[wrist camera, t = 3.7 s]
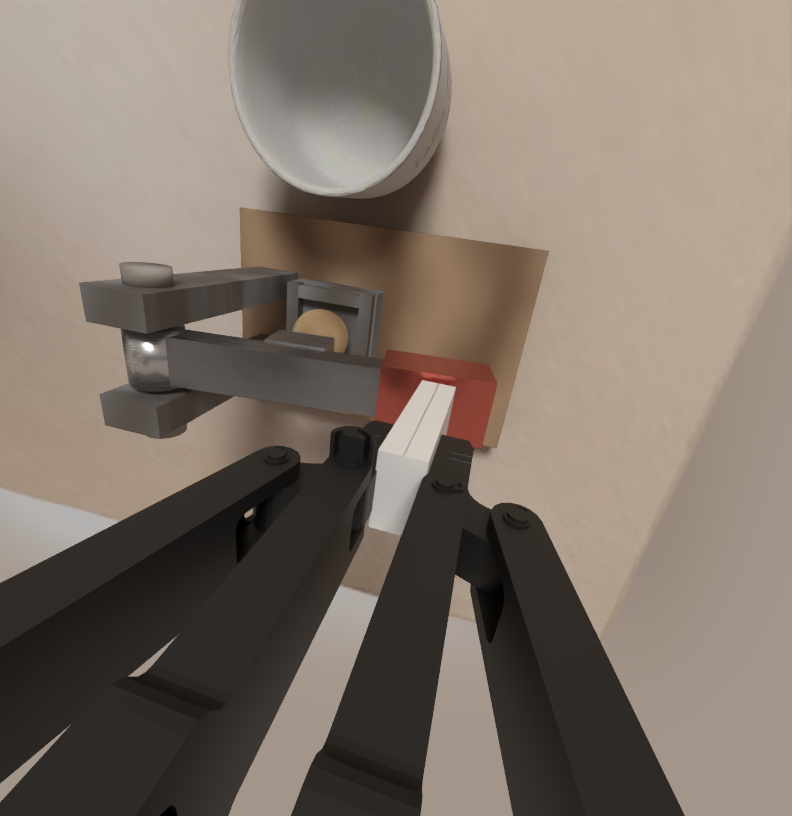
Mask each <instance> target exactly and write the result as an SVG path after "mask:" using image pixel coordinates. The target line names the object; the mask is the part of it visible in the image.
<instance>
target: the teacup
mask: <svg viewBox="0 0 792 816" xmlns="http://www.w3.org/2000/svg"><path fill="white" fill-rule="evenodd" d="M229 73H230V80H231V90H232V95H233V99H234V103H235V107H236V110H237V113H238V116H239V119H240V122H241V124H242V127H243V129H244V132H245V134H246V135H247V137H248V139H249V141H250V143H251V144H252V146H253V148H254V149H255V151H256V152H257V154H258V155H259V156H260V158H261V159H262V160H263V161H264V162H265V163H266V164H267V166H268V167H269V168H270V169H271V170H272V171H273V172H274V173H275V174H276V175H277V176H279V177H280V178H281V179H283V180H284V181H285V182H287V183H288V184H290V185H291V186H293V187H295V188H297V189H299V190H301V191H304V192H307V193H310V194H314V195H318V196H322V197H345V198H355V199H367V198H376V197H380V196H384V195H387V194H390V193H392V192H394V191H396V190H398V189H400V188H402V187H403V186H405V185H406V184H408V183H409V182H410V181H411V180H413V179H414V178H415V177H416V176H417V175H418V174H419V173H420V172H421V171H422V170H423V168H424V167H425V166H426V165H427V163H428V162H429V160H430V159H431V158H432V156H433V154H434V153H435V151H436V149H437V147H438V145H439V143H440V141H441V138H442V135H443V133H444V130H445V127H446V123H447V119H448V115H449V109H450V102H451V85H452V79H451V66H450V59H449V53H448V48H447V44H446V40H445V36H444V33H443V29H442V26H441V23H440V18H439V13H438V7H437V4H436V1H435V0H236V3H235V7H234V11H233V15H232V20H231V26H230V35H229Z"/></svg>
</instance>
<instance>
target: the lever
mask: <svg viewBox="0 0 792 816" xmlns="http://www.w3.org/2000/svg"><path fill="white" fill-rule="evenodd" d="M121 334H122V341H123V348H124V354H125V361H126V368H127V374H128V381H129V385H130V386H131V387H132V388H134V389H137V390H142V391H168V390H174V389H178V388H185V389H192V390H198V391H205V392H212V393H218V394H225V395H231V396H238V397H245V398H251V399H258V400H265V401H271V402H278V403H284V404H291V405H298V406H304V407H311V408H317V409H324V410H331V411H337V412H344V413H351V414H357V415H364V416H370V417H375V420H377V421H382V422H386V423H390V424H395V423H396V421H397V419H398V418H399V416H400V415H401V413H402V412H403V410H404V408H405V407H406V405H407V404H408V402H409V401H410V399H411V397H412V396H413V394H414V393H415V391H416V389H417V388H418V386H419V385H420V383H421V382H422V380H424V381H429V382H434V383H439V384H444V385H448V386H453V387H456V390H455V395H454V400H453V405H452V410H451V414H450V419H449V424H448V429H447V434H446V435H447V436H451V437H455V438H460V439H464V440H468V441H470V443H471V445H472V447H473V448H479V449H482V445H483V441H484V437H485V433H486V429H487V425H488V421H489V417H490V413H491V409H492V404H493V400H494V396H495V392H496V388H497V384H498V383H497V381H496V379H495V377H494V374H493V372H492V370H491V368H490V366H489V364H484V363H478V362H471V361H464V360H457V359H450V358H444V357H437V356H430V355H423V354H417V353H410V352H403V351H396V350H389V349H387V352H386V355H385V357H384V359H380V358H373V357H367V356H360V355H353V354H346V353H340V352H334V343H335V338H333V337H326V336H320V335H313V334H306V333H299V332H292V331H286V330H279V331H277V332H275V333H274V334H272V335H270V336H269V337H267V338H266V339H264V341H259V340H252V339H245V338H238V337H232V336H225V335H218V334H211V333H205V332H198V331H191V330H185V326H184V325H179V326H175V327H172V328H168V329H164V330H160V331H156V332H152V333H148V334H146V333H141V332H136V331H131V330H126V329H121Z"/></svg>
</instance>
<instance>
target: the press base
mask: <svg viewBox="0 0 792 816" xmlns="http://www.w3.org/2000/svg"><path fill="white" fill-rule="evenodd" d="M240 235H241V268H237V269H226V270H215V271H204V272H193V273H182V274H173V270H172V267H171V266H168V265H163V264H155V263H143V262H124V263H120V264H119V265H120V272H121V279H115V280H104V281H93V282H82V283H79V285H80V290H81V296H82V301H83V307H84V312H85V317H86V321H87V322H92V323H97V324H102V325H107V326H112V327H116V328H121V329H126V330H131V331H136V332H141V333H146V334H148V333H152V332H156V331H160V330H164V329H168V328H172V327H175V326H179V325H183V324H187V323H191V322H195V321H199V320H203V319H207V318H211V317H215V316H219V315H223V314H227V313H231V312H235V311H238V310H242V313H243V338H245V339H252V340H259V341H264V339H266V338H267V337H269V336H270V335H272V334H274V333H275V332H277V331H279V330H286V331H292V330H293V327H294V325H295V323H296V321H297V320H298V318H299V317H300V316H301V315H303V314H304V313H306V312H308V311H310V310H315V309H324V310H328V311H331V312H333V313H334V314H336V315H337V316H338V317H340V318H341V320H342V321H343V322H344V324H345V326H346V328H347V332H348V345H347V348H346V350H345V352H344V353H346V354H353V355H360V356H367V357H373V358H380V359H384V357H385V355H386V352H387V349H389V350H396V351H403V352H410V353H417V354H423V355H430V356H437V357H444V358H450V359H457V360H464V361H471V362H478V363H484V364H489V366H490V368H491V370H492V372H493V374H494V377H495V379H496V381H497V383H498V384H497V388H496V392H495V396H494V400H493V404H492V409H491V413H490V417H489V421H488V425H487V429H486V433H485V437H484V441H483V446H488V447H492V448H497V445H498V442H499V438H500V434H501V430H502V426H503V423H504V419H505V415H506V411H507V408H508V404H509V400H510V396H511V392H512V389H513V385H514V381H515V377H516V374H517V370H518V366H519V362H520V358H521V355H522V351H523V347H524V343H525V340H526V336H527V332H528V328H529V324H530V321H531V317H532V313H533V309H534V306H535V302H536V298H537V294H538V290H539V287H540V283H541V279H542V275H543V272H544V268H545V264H546V260H547V256H548V253H549V251H545V250H538V249H531V248H524V247H517V246H509V245H502V244H495V243H488V242H481V241H474V240H467V239H460V238H453V237H446V236H439V235H431V234H424V233H417V232H410V231H403V230H396V229H389V228H382V227H375V226H368V225H360V224H353V223H346V222H339V221H332V220H325V219H318V218H311V217H304V216H297V215H289V214H282V213H275V212H268V211H261V210H254V209H247V208H240ZM232 397H233V396H231V395H225V394H218V393H212V392H205V391H198V390H192V389H185V388H178V389H174V390H168V391H142V390H137V389H134V388H132V387H131V386H130V385H129V384H126V385H123V386H121V387H118V388H115V389H113V390H110V391H107V392H105V393H102V394H100V399H101V405H102V410H103V415H104V421H105V425H107V426H111V427H115V428H119V429H123V430H127V431H131V432H135V433H139V434H143V435H146V436H148V437H150V438H157V439H163V438H171V437H175V436H178V435H180V434H182V433H184V432H185V431H186V429H187V423H188V422H190V421H192V420H194V419H195V418H197V417H199V416H201V415H202V414H204V413H206V412H207V411H209V410H211V409H213V408H214V407H216V406H218V405H220V404H221V403H223V402H225V401H227V400H228V399H230V398H232ZM316 409H317V408H316ZM320 410H324V409H320ZM325 411H329V412H334V413H338V414H343V415H347V416H352V417H357V418H361V419H366V420H370V421H375V417H370V416H364V415H357V414H351V413H344V412H337V411H331V410H325Z"/></svg>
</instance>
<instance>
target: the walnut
mask: <svg viewBox="0 0 792 816" xmlns="http://www.w3.org/2000/svg"><path fill="white" fill-rule="evenodd" d="M292 332H299V333H306V334H313V335H320V336H326V337H333V338H335V343H334V352H340V353H344V352H345V350H346V348H347V345H348V332H347V328H346V326H345V324H344V322H343V321H342V320H341V318H340V317H338V316H337V315H336V314H334V313H333V312H331V311H328V310H324V309H315V310H310V311H308V312H306V313H304V314H303V315H301V316H300V317H299V318H298V320H297V321H296V323H295V325H294V327H293V330H292Z"/></svg>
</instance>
